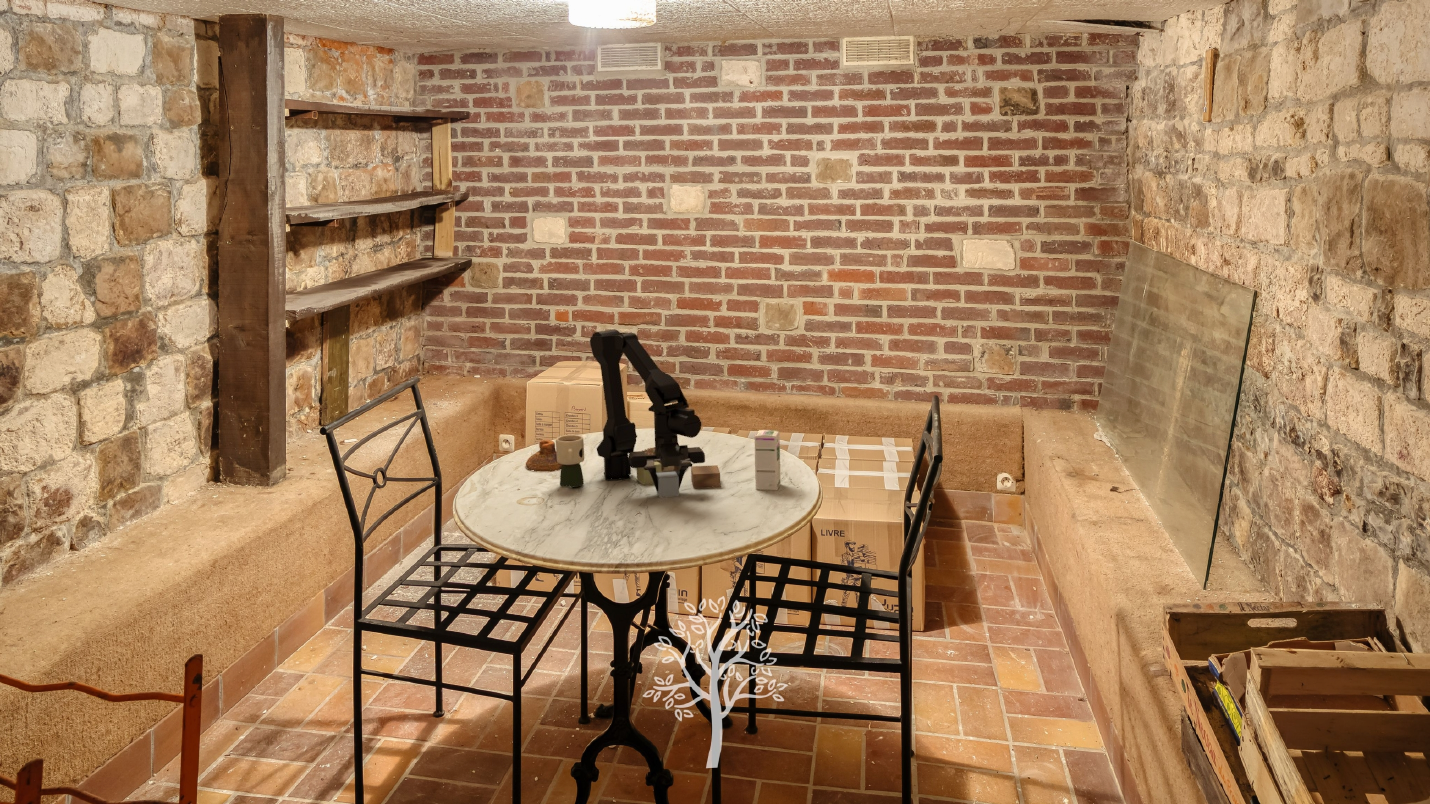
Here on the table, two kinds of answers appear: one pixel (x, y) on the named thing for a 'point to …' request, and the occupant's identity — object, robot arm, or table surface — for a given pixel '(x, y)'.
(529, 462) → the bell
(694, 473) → the walnut slab
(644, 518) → the table surface
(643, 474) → the olive cube
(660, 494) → the slate cube
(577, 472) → the character mug
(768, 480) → the syrup box
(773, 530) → the table surface
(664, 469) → the donut
